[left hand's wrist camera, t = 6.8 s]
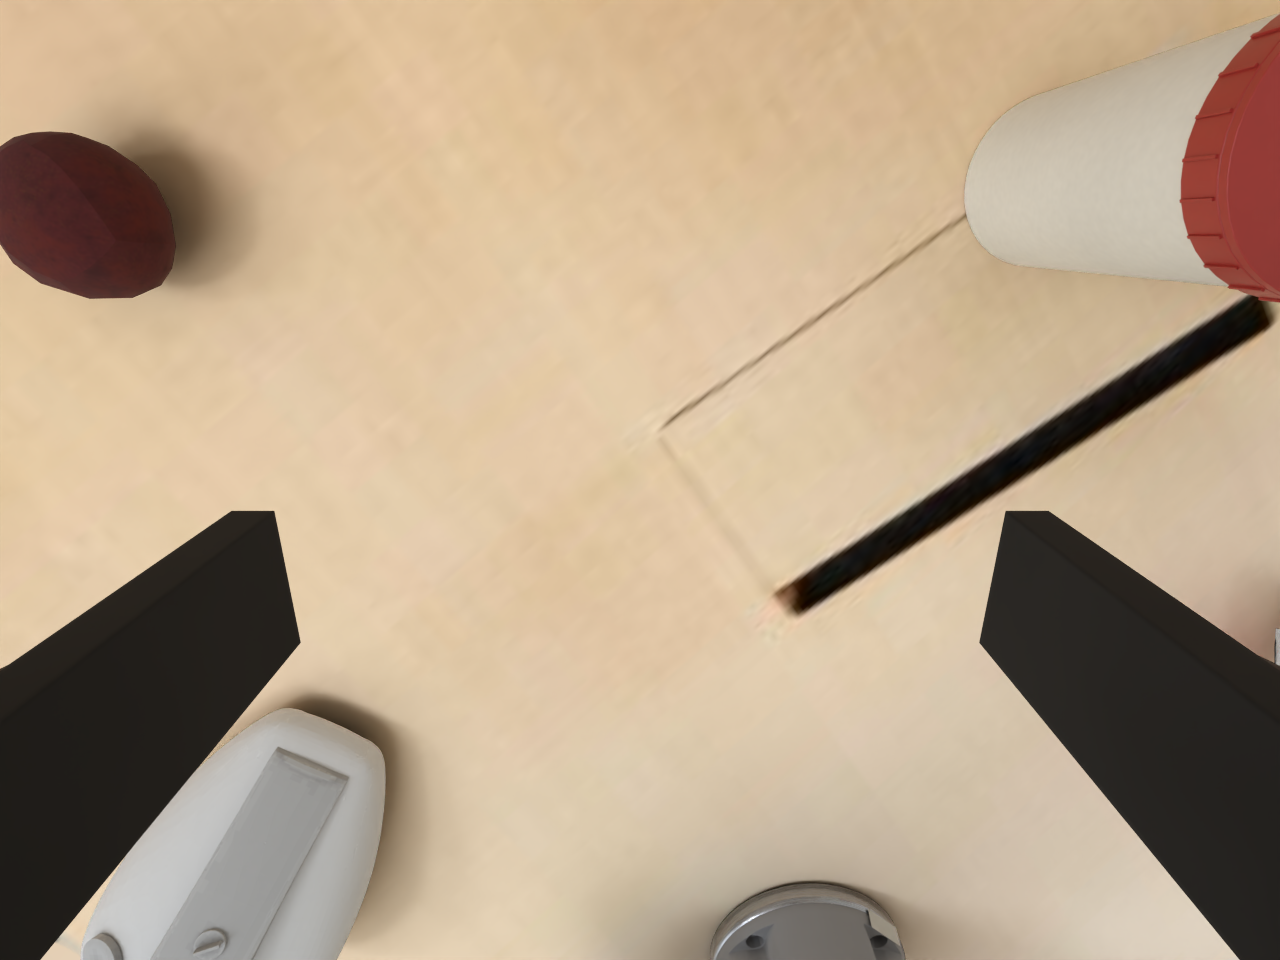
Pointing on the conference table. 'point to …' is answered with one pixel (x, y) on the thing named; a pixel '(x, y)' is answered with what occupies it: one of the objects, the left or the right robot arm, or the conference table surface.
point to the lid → (1238, 171)
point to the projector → (253, 852)
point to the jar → (1100, 168)
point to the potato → (82, 217)
